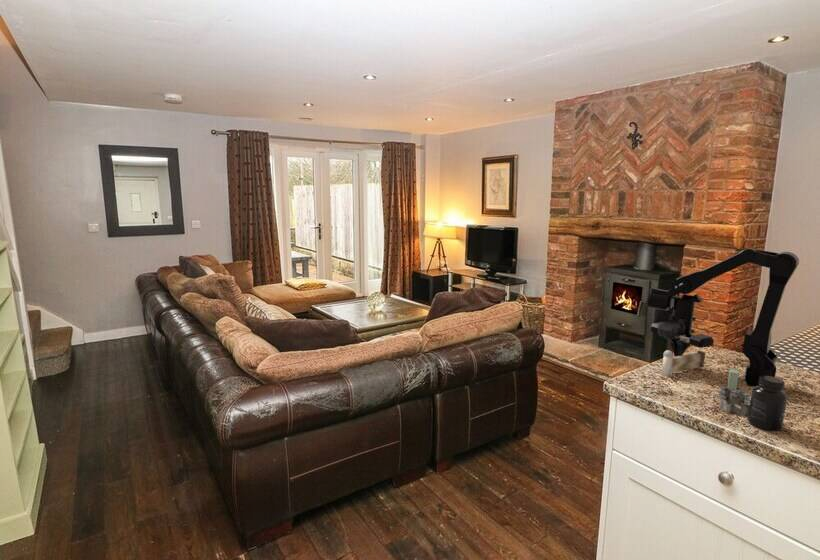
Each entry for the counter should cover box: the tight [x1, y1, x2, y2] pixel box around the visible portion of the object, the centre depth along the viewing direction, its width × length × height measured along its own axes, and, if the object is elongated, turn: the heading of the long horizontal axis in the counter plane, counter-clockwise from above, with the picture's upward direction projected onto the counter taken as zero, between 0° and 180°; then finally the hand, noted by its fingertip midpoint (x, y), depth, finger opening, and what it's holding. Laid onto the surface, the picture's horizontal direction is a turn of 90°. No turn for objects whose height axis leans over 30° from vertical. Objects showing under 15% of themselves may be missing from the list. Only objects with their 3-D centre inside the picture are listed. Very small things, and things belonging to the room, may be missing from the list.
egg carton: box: [718, 384, 751, 417], centre depth 123 cm, size 11×8×4 cm
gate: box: [670, 350, 706, 374], centre depth 146 cm, size 14×2×5 cm, turn 112°
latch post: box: [727, 367, 740, 390], centre depth 134 cm, size 2×4×5 cm, turn 147°
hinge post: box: [661, 349, 674, 377], centre depth 143 cm, size 3×3×8 cm
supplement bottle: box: [747, 376, 788, 432], centre depth 112 cm, size 7×7×12 cm
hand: (677, 359), depth 152 cm, fingers closed
